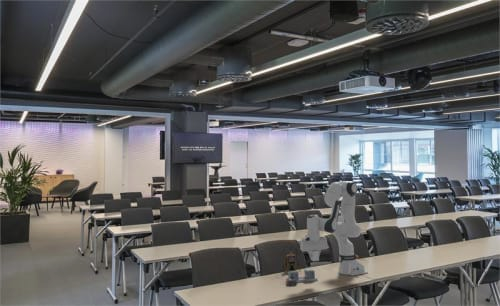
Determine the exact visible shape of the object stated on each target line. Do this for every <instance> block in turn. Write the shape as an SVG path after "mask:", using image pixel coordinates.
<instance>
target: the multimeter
mask: <svg viewBox="0 0 500 306" xmlns="http://www.w3.org/2000/svg"><path fill="white" fill-rule="evenodd" d="M286 248H287V246H285V247H284V249H283V252H282V253H284V252H285V249H286ZM292 248H295V254H293V250H292ZM297 255H298V254H297V248H296V247H295V246H293V245H292V246H291V247H290V252H289V254H286V256H285V264H283V268H285V267H286V271H287V272H285V274H288V271H297V265H298V269H299V270H301V268H300V266H299V264H297V263H299V262H298V259H297V257H298V256H297ZM285 265H286V266H285Z"/></svg>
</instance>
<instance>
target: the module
mask: <svg viewBox="0 0 500 306" xmlns="http://www.w3.org/2000/svg"><path fill="white" fill-rule="evenodd" d="M310 254H312V257H310V261H312V262H320V256H319V251H318V250H314V251H310Z"/></svg>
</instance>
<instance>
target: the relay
mask: <svg viewBox="0 0 500 306" xmlns="http://www.w3.org/2000/svg"><path fill="white" fill-rule="evenodd" d="M286 279H287V278H286ZM286 283H287V286H291V287H292V286H298V283H297V280H296V279H287V281H286Z"/></svg>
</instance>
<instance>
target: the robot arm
mask: <svg viewBox="0 0 500 306" xmlns="http://www.w3.org/2000/svg"><path fill="white" fill-rule="evenodd" d="M357 191H358V186H357V184H356V182H354V181H348V180H346V181H345V180H343V181H334V182H331V183H330V185H329V186H328V188H327V189H326V192H325V194H324V197H323V199H324V200H323V201H324V203H325V204H326V205H327V206H328V207H330V208H331V213H330V216H329V218H322V217H319V215H318V214H309V215H308V216H307V219H306V229H307V234H306V235H303V236H302V237H301V238H300V240H301V241H300V244H299V246H300V248H299V249H300V250H301V252H307V253H308V257H309V258H311V257H312V254H310V251H314V250H318V251H319V257H320V256H321V252H322V251H323V250H327V249H328V247H329V245H328V238H327V236H321V235H320V232H321V233H322V232H324V233H328V234H332V235H333V237H335V239H336V241H337V244H338V250H339V251H338V253H339V254H338V261H339V265H338V271H337V272H338V274H340V275H347V276H359V275H364V274H368V270H367V269H365V265H364V264H363V263H362V262H361V261H360V260H359V259H358V258H359V255H357V254H355V252H354V243H352V242H351V240H349V238H358V237H360V236H361V233H362V228H361V226H360V225H359V224H358V223H357V221H356V217H355V212H356V193H357ZM341 196H342V197H341ZM340 198H342V199H341V202H340ZM339 215H340V216H341V217H342V218H343V219H344V221H343V222H342V221H341V222H340V221H339Z"/></svg>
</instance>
